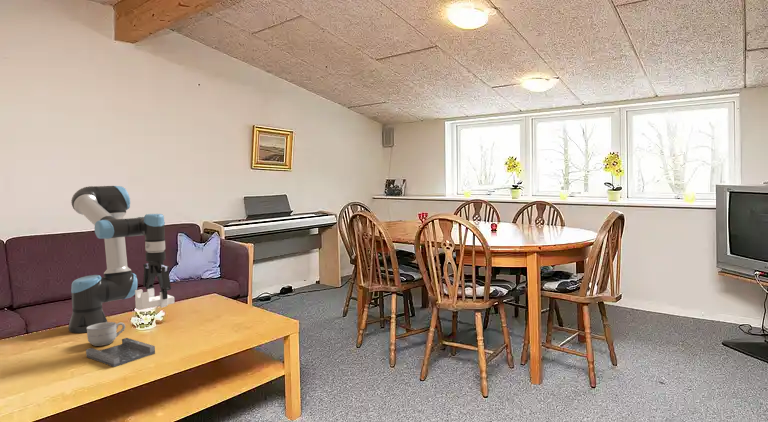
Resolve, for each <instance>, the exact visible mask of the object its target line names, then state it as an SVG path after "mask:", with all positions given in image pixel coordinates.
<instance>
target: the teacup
mask: <svg viewBox="0 0 768 422" xmlns="http://www.w3.org/2000/svg"><path fill="white" fill-rule="evenodd" d="M120 325H121V326H122V328H121V329H120V330H119V331H118V330H117V329H118V327H119V326H120ZM86 329H87V332H86V336H87V342H88V343H89V344H91V345H93V346H94V347H103V346H107V345H109V344H112V343H113V341H115V340H116V338H117V337H119V335H120V334H121V333H123V332H124V331H125V329H126V325H125V323H124V322H117V323H116V322H113V321H107V322H105V323H98V324H94V325H91V326H88V327H87V328H86ZM117 331H118V332H117Z"/></svg>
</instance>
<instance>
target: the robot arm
mask: <svg viewBox="0 0 768 422" xmlns="http://www.w3.org/2000/svg"><path fill="white" fill-rule="evenodd" d="M70 203H71V207H72V209H74V211H75V212H76V213H77V214H79V215H82V216H84V217H85V218H86V219H87V220H88V221H89V222H90V223H91V224H92V225H93V226H94V234H95V236H96V238H97V239H100V240H101V239H102V240H103V241H104V248H105V250H104V251H105V260H106V270H105V271H104V272H103V277H102V276H101V275H99V274H93V275H92V274H89V275H84V276H82V277H79V278H76V279H74V280H73V281H72V283H71V287H70V288H71V291H70V293H71V307H72V314H71V317H70V320H69V323H68V332H69V333H73V334H74V333H75V334H76V333H77V334H80V333H87V329H86V328H87V327H88V326H91V325H94V324H98V323H105V322H108V320H107V319H108V318H107V317H106V314H105V312H104V310H103V303H109V302H114V301H120V300H126V299H130V298H133V297H134V296H135V290H138V278H137V274H135V273H133V272H132V269H131V268H130V267H129V266H128V258H127V247H126V246H127V245H126V237H137V236H138V237H139V236H141V237H142V236H144V242H145V249H144V251H145V261H146V262H147V263H144V264H143V282H142V286H143V288H145V289H146V292H149V297H155V286H154V283H155V278H157V281H158V284H159V287H160V290H159V296H160V306H159V307H160V308H161V309H162V308H165V307H168V305H167V294H168V291H171V289H172V286H171V279H170V272H169V271H170V267H169V265H165V264H164V261H165V260H166V259H167V258H166V251H165V250H166V237H165V236H166V235H165V234H166V231H165V229H166V228H165V227H166V226H165V223H166V222H165V215H163V214H162V213H148V214H147V213H146V214H145V215H144V216H137V217H134V218H133V217H132V218H130V217H129V218H124V216H125V215H127V210H129V209H130V208H131V198H130V194H129V192H128V190H127V189H126V188H125V187H124V186H121V185H103V186H102V185H101V186H100V185H98V186H92V185H91V186H89V185H88V186H85V187H82V188H79V189H78V190H76V192H75V193H74V194H73V195H72V198H71V202H70Z"/></svg>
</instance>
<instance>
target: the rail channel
mask: <svg viewBox="0 0 768 422" xmlns="http://www.w3.org/2000/svg"><path fill="white" fill-rule="evenodd" d="M155 347H156V346H155V345H154V344H153V345H152V344H149V343H145V342H142V341H139V340H136V339H132V338H128V337H125V338H122V339H121V344H118V345H114V346H111V347H108V348H104V349H100V350H99V349H97V348H96V349H95V348H93V347H90V348H87V349H85V353H86V354H85V355H86V357H85V358H88V359H91V360H93V361H96V362H98V361H99V363H101V362H102V363H101V364H104V363H105V365H107V364H108V366H110V367H113V368H116V367H119V366H122V365H125V364H127V363H130V362H134V361H137V360H139V359H142V358H146V357H148V356H152V355H154V354H156V348H155Z"/></svg>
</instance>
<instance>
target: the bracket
mask: <svg viewBox="0 0 768 422" xmlns="http://www.w3.org/2000/svg"><path fill="white" fill-rule="evenodd" d="M134 296H135V298H134V299H135V301H134V303H135V309H136V310H138V311H140V310H145V309H151V308H156V307H160V295H156V296H155V295H154V297H149V292H147V291H143V289H142V288H141V289H137V290H135V294H134ZM173 304H175V296H173V295H170V294H168V293H167V306H168V305H173Z"/></svg>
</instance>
